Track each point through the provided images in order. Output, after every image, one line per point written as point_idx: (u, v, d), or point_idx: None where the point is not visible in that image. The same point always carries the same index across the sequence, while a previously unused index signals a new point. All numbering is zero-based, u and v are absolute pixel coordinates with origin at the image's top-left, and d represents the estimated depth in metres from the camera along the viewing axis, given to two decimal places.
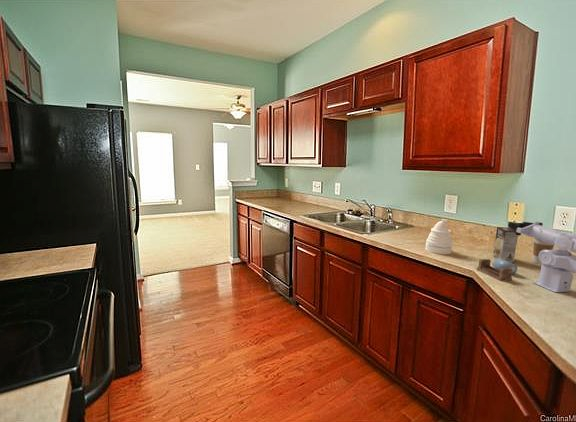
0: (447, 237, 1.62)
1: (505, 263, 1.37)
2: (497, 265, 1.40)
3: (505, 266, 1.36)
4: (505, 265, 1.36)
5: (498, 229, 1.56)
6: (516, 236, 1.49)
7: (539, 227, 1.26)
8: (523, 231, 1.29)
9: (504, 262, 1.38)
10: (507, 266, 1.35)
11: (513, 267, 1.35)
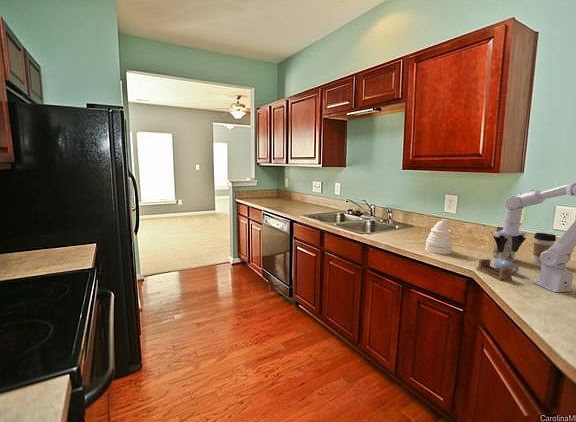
0: (447, 237, 1.62)
1: (507, 262, 1.37)
2: (499, 264, 1.40)
3: (507, 265, 1.36)
4: (507, 264, 1.36)
5: (498, 229, 1.56)
6: None
7: None
8: None
9: (506, 261, 1.38)
10: (509, 265, 1.35)
11: (515, 267, 1.35)
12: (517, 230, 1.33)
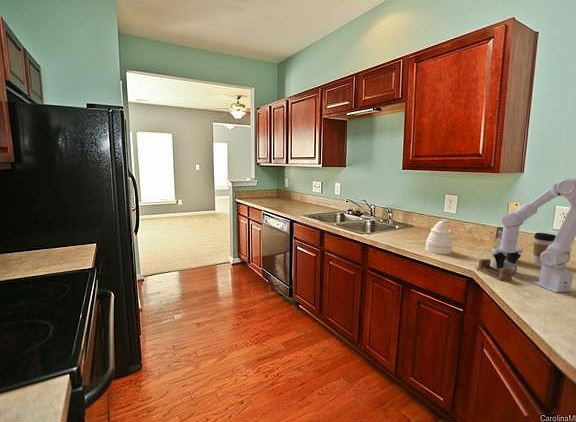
0: (447, 237, 1.62)
1: (505, 263, 1.37)
2: None
3: (505, 266, 1.36)
4: (505, 265, 1.36)
5: (498, 229, 1.56)
6: None
7: None
8: None
9: (504, 261, 1.38)
10: (507, 266, 1.35)
11: (513, 267, 1.35)
12: (514, 247, 1.35)
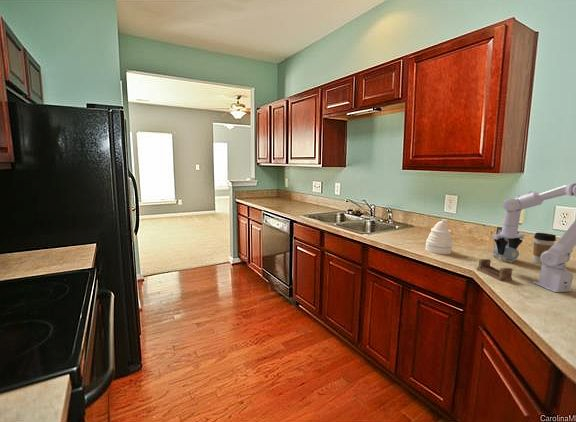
0: (447, 237, 1.62)
1: (506, 248, 1.35)
2: None
3: (506, 251, 1.34)
4: (506, 250, 1.35)
5: (498, 229, 1.56)
6: None
7: None
8: None
9: (505, 247, 1.36)
10: (508, 251, 1.33)
11: (514, 252, 1.33)
12: (515, 232, 1.33)
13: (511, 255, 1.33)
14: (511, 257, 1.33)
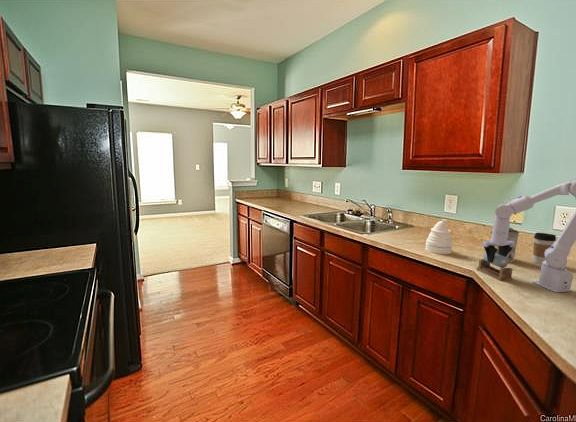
0: (447, 237, 1.62)
1: (496, 256, 1.32)
2: None
3: (496, 259, 1.31)
4: (496, 258, 1.31)
5: None
6: (516, 236, 1.49)
7: None
8: (488, 242, 1.31)
9: (495, 254, 1.33)
10: (498, 259, 1.30)
11: (504, 260, 1.30)
12: (505, 240, 1.29)
13: (500, 263, 1.30)
14: (501, 265, 1.30)
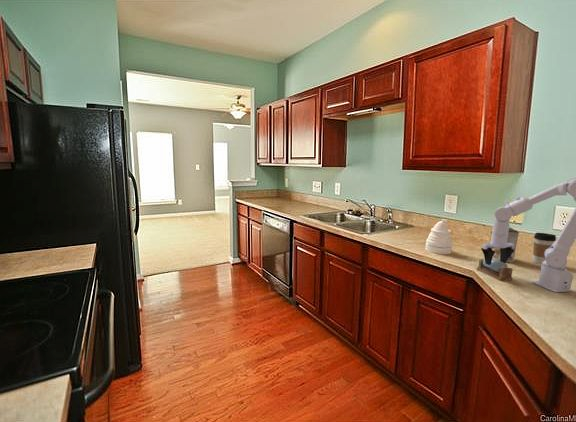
0: (447, 237, 1.62)
1: (495, 262, 1.32)
2: (487, 264, 1.35)
3: (495, 265, 1.31)
4: (495, 264, 1.32)
5: None
6: (516, 236, 1.49)
7: None
8: None
9: (494, 260, 1.33)
10: (497, 265, 1.31)
11: (503, 266, 1.30)
12: (505, 242, 1.30)
13: None
14: None
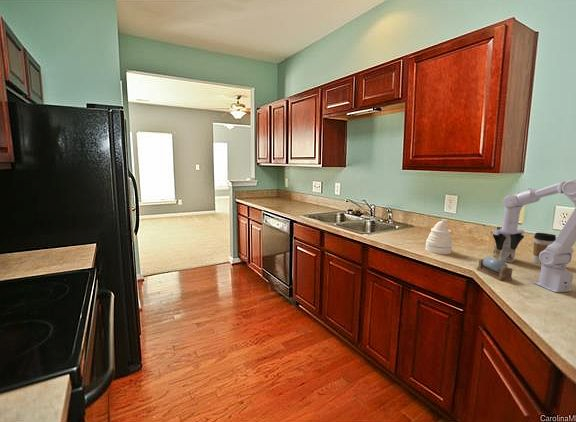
0: (447, 237, 1.62)
1: (495, 262, 1.32)
2: (487, 264, 1.35)
3: (495, 265, 1.31)
4: (495, 264, 1.32)
5: (498, 229, 1.56)
6: None
7: None
8: None
9: (494, 260, 1.33)
10: (497, 265, 1.31)
11: (503, 266, 1.30)
12: (516, 228, 1.36)
13: None
14: None
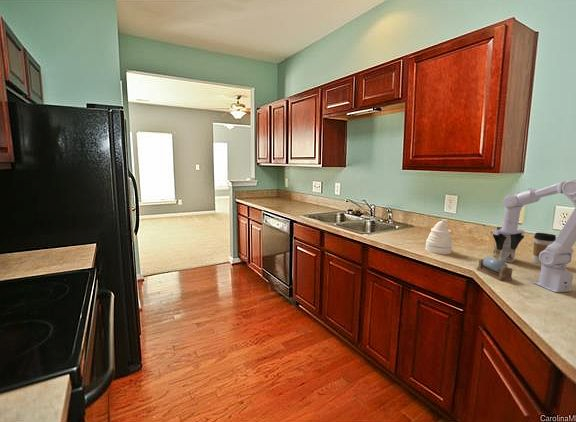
0: (447, 237, 1.62)
1: (495, 262, 1.32)
2: (487, 264, 1.35)
3: (495, 265, 1.31)
4: (495, 264, 1.32)
5: (498, 229, 1.56)
6: None
7: None
8: None
9: (494, 260, 1.33)
10: (497, 265, 1.31)
11: (503, 266, 1.30)
12: (516, 228, 1.36)
13: None
14: None
